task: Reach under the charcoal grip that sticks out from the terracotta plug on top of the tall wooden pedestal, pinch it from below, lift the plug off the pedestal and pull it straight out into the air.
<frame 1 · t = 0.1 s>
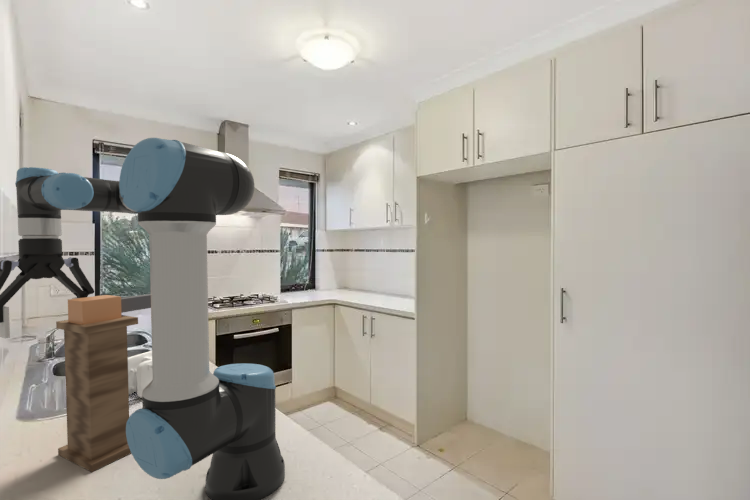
hand: (43, 330, 89), 28 cm above the countertop, tool pointing down, fingers open, 13 cm apart
cable organizer: (153, 391, 126), on the countertop
plug: (95, 319, 89), point 30 cm above the countertop, touching wooden pedestal
wooden pedestal: (99, 452, 90), on the countertop
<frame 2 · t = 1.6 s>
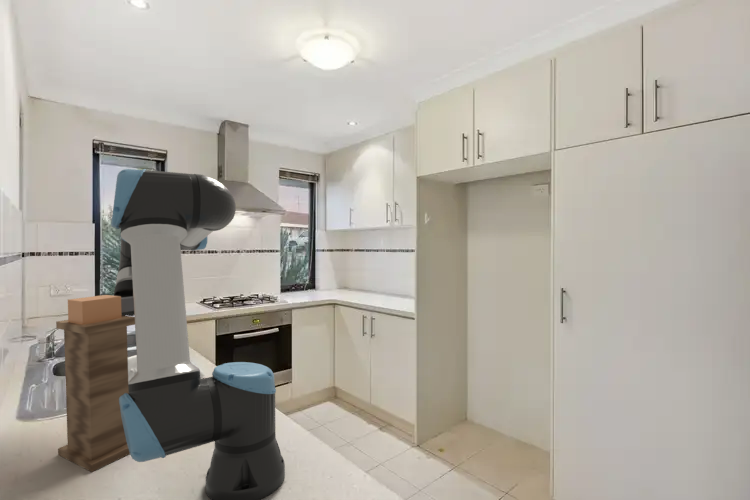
hand: (121, 352, 97), 21 cm above the countertop, tool tilted 45°, fingers open, 13 cm apart
nothing on the countertop moved.
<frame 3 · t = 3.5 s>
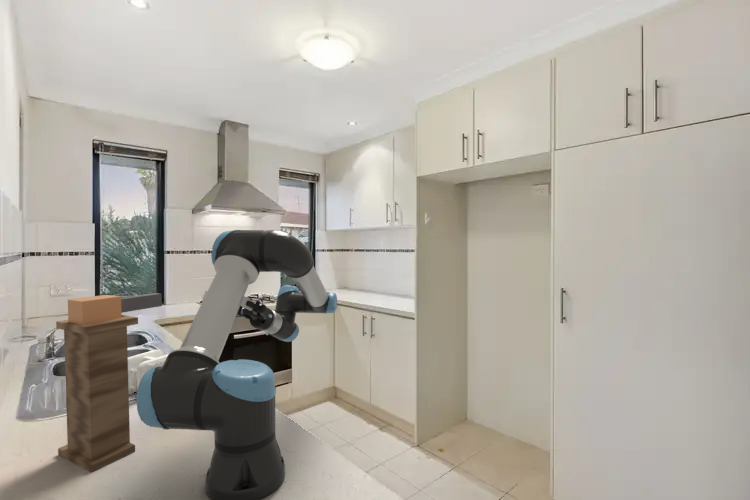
hand: (220, 296, 115), 32 cm above the countertop, tool pointing upward, fingers open, 13 cm apart
nothing on the countertop moved.
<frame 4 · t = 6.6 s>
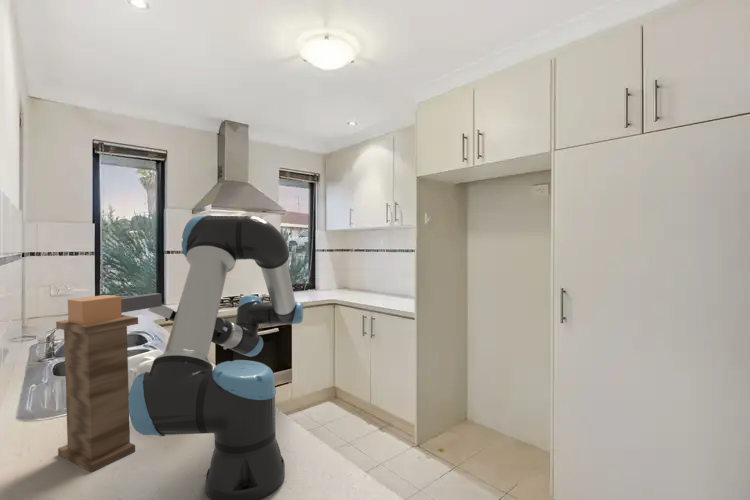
hand: (166, 307, 104), 30 cm above the countertop, tool pointing upward, fingers open, 13 cm apart
nothing on the countertop moved.
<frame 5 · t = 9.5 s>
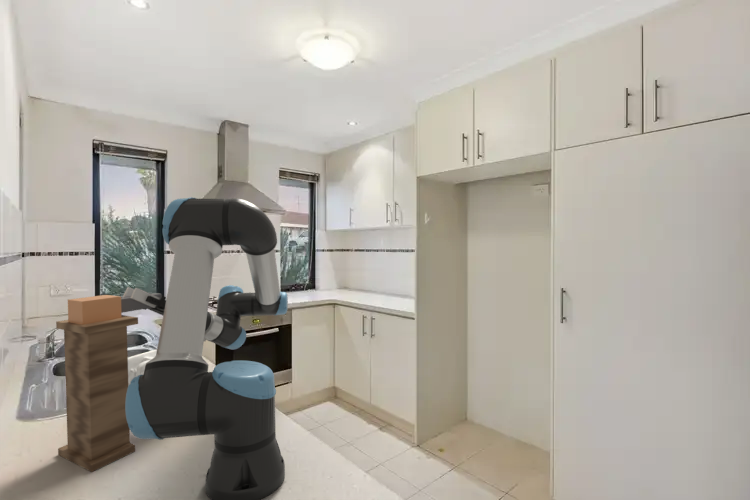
hand: (129, 292, 96), 36 cm above the countertop, tool pointing upward, fingers closed on plug, 3 cm apart
plug: (95, 319, 89), point 30 cm above the countertop, touching gripper, wooden pedestal
everything else where it was.
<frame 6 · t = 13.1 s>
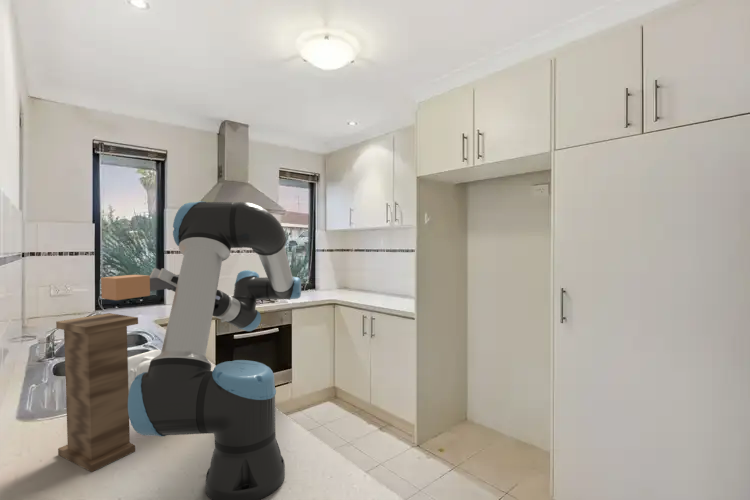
hand: (156, 272, 102), 40 cm above the countertop, tool pointing upward, fingers closed on plug, 3 cm apart
plug: (126, 297, 95), point 35 cm above the countertop, touching gripper
everything else where it was.
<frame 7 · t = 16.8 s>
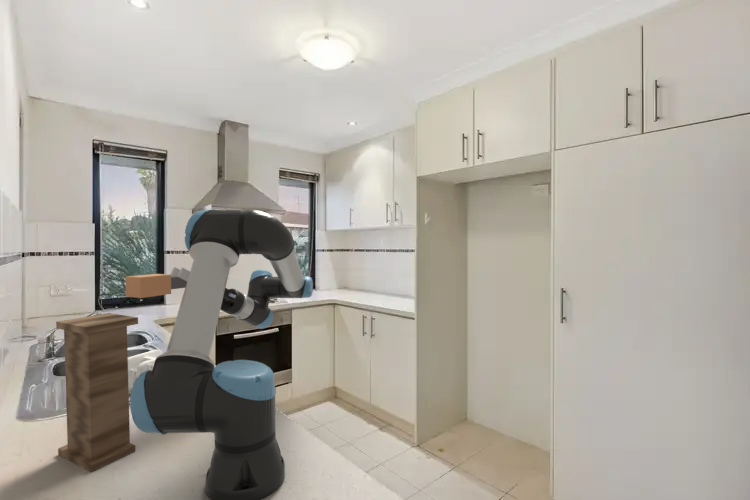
hand: (176, 272, 106), 40 cm above the countertop, tool pointing upward, fingers closed on plug, 3 cm apart
plug: (149, 295, 100), point 34 cm above the countertop, touching gripper
everything else where it was.
at the end: the gripper is holding plug; plug inside the target area (6.5 cm from its centre), point 34.5 cm above the countertop; plug touching gripper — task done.
